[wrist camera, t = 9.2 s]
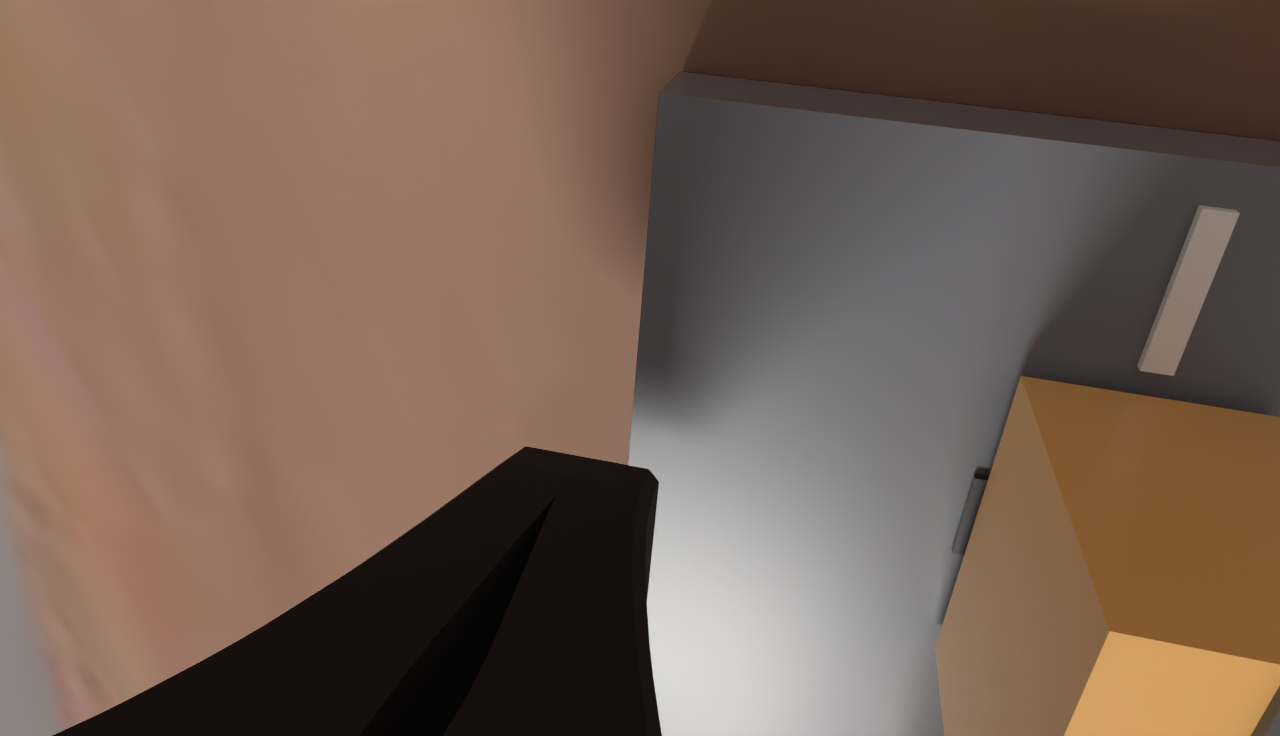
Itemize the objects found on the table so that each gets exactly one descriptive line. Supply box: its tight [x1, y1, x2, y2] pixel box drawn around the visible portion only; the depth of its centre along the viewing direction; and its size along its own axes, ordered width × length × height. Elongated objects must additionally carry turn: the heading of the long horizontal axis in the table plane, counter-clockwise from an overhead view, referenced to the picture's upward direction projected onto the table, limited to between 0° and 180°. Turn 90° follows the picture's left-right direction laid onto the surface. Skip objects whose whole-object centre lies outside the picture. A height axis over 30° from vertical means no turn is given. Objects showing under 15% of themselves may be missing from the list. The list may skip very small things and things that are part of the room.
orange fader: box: [935, 376, 1280, 736], centre depth 8 cm, size 4×2×4 cm, turn 176°
